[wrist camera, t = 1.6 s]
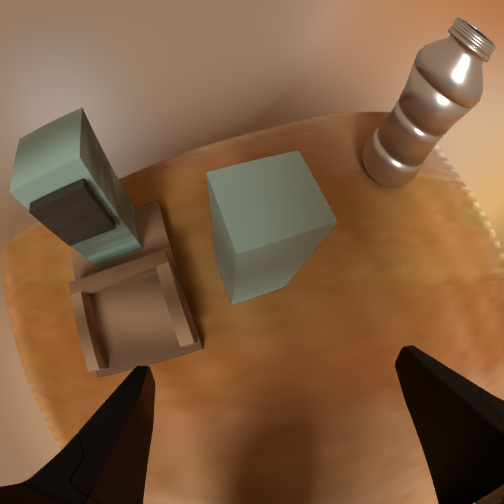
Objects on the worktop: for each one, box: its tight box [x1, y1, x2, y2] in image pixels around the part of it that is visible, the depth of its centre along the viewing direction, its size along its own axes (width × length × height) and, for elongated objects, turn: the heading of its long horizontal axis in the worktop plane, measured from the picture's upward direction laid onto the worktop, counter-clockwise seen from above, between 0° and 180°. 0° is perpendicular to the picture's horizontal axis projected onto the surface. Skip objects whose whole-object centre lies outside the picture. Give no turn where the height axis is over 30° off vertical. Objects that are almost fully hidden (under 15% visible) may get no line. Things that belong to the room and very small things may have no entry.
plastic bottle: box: [362, 17, 495, 188], centre depth 19 cm, size 6×7×20 cm
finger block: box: [206, 150, 337, 305], centre depth 17 cm, size 5×4×12 cm
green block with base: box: [10, 108, 203, 377], centre depth 15 cm, size 13×9×13 cm
